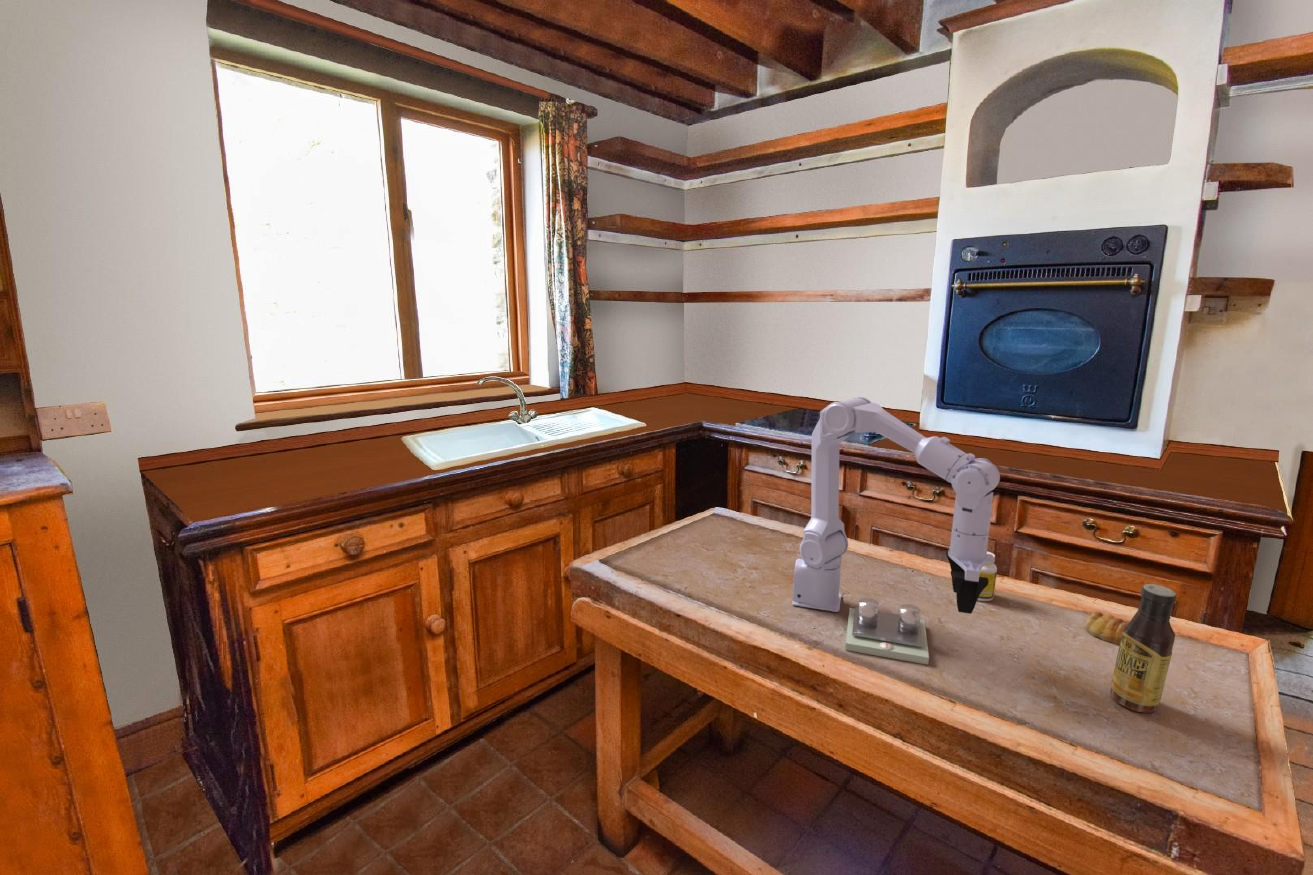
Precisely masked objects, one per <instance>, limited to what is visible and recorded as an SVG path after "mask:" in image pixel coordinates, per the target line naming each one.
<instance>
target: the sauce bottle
mask: <svg viewBox="0 0 1313 875" xmlns="http://www.w3.org/2000/svg"><path fill="white" fill-rule="evenodd" d="M1140 595H1141V600H1140V604H1139V607H1138V608H1137V611H1136V612H1135V614H1134V616H1133V617H1132V618H1131V620H1130V621H1129V622H1128V623H1127V624H1128V625H1127V627H1126V628H1125V629H1124V631H1123V634H1122V638H1121V643H1120V645H1118V646H1119V647H1118V652H1117V656H1116V659H1115V664H1114V669H1113V674H1112V678H1111V683H1110V686H1111V687H1110V694H1111V697H1112V698H1113V700H1114V701H1115V702H1116V703H1117V704H1119V705H1120V706H1123V707H1125V708H1126V709H1128V710H1130V711H1132V712H1136V713H1138V712H1139V713H1144V714H1148V713H1150V714H1151V713H1153V712H1155V711H1156V710H1157V709H1158V707H1159V704H1161V703H1160V702H1161V700H1162V699H1161V698H1162V695H1163V692H1164V688H1165V684H1166V680H1167V675H1168V670H1169V667H1170V663H1171V659H1172V655H1173V646H1174V643H1175V637H1176V634H1175V631H1174V629H1173V627H1172V625H1171V623H1170V619H1171V617H1172V616H1171V613H1172V609H1173V605H1174V604H1175V603H1176V600H1177V593H1176V592H1175V591H1174V590H1173V589H1172V588H1169V587H1166V586H1164V585H1160V584H1154V583H1146V584H1144V585H1142V588H1141V591H1140Z"/></svg>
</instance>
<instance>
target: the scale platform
mask: <svg viewBox="0 0 1313 875" xmlns="http://www.w3.org/2000/svg"><path fill="white" fill-rule="evenodd" d="M854 608H855V611H854V621H853V631H852V635H853V636H859V637H865V638H871V639H877V640H883V641H889V642H894V643H900V644H906V645H912V646H918V647H922V635H921V626H920V620H919V631H918V632H917V633H906V632H903V631H901V630H900V629H899V628H898V620H899V613H893V612H886V611H885V612H884V611H879V610H878V620H877V625H876V626H872V627H869V626H864V625H861V624H860V623H859V622H858V621H857V620H858V607H854Z"/></svg>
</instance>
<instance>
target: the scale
mask: <svg viewBox="0 0 1313 875" xmlns="http://www.w3.org/2000/svg"><path fill="white" fill-rule="evenodd" d="M855 608H856V607H854V608H853V607H849V612H848V619H847V620H848V621H847V628H846V635H845V636H846V637H845V644H844V646H845V647H844V649H845V651H849V652H855V653H856V652H857V653H861V654H867V655H872V656H878V657H883V658H889V659H893V660H900V661H906V662H911V663H915V664H916V663H917V664H922V665H927V666H929V660H930V656H929V647H928V638H927V630H926V622H925V619H924V618H923V619H922V618H920V626H921V635H922V647H918V646H912V645H906V644H900V643H894V642H889V641H883V640H877V639H871V638H865V637H859V636H853V635H852V631H853V621H854V611H855Z"/></svg>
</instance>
